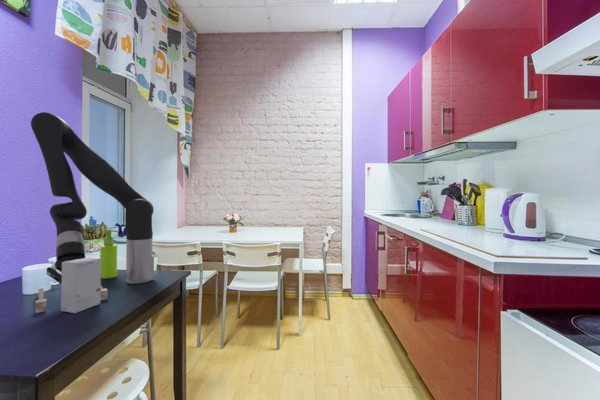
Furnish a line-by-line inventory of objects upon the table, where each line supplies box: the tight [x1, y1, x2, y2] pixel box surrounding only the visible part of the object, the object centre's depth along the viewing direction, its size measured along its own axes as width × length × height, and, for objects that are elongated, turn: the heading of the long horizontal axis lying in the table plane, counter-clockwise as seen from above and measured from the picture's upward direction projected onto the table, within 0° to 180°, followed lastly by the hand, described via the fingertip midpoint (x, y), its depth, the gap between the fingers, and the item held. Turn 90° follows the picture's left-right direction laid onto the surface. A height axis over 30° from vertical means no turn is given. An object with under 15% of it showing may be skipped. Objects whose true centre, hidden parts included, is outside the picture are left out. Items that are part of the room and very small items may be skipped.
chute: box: [35, 285, 109, 314], centre depth 95 cm, size 18×18×3 cm
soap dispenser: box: [99, 228, 120, 280], centre depth 120 cm, size 6×7×20 cm
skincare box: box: [60, 257, 102, 314], centre depth 87 cm, size 8×6×15 cm
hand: (72, 292), depth 88 cm, fingers closed
